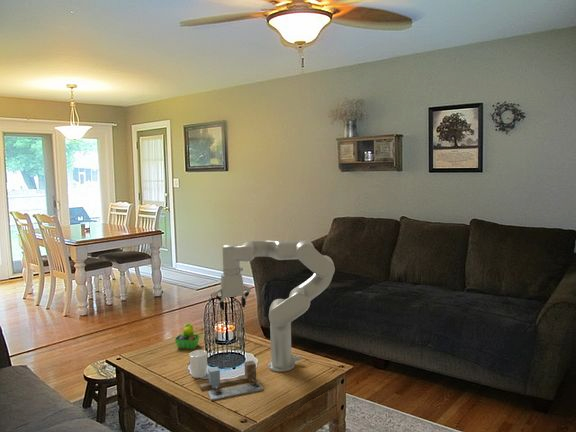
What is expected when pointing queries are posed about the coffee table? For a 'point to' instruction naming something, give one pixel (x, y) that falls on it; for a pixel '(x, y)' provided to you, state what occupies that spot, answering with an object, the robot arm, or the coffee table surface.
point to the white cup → (198, 363)
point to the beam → (249, 376)
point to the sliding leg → (214, 377)
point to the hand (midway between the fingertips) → (233, 308)
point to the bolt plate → (235, 391)
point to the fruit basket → (187, 338)
